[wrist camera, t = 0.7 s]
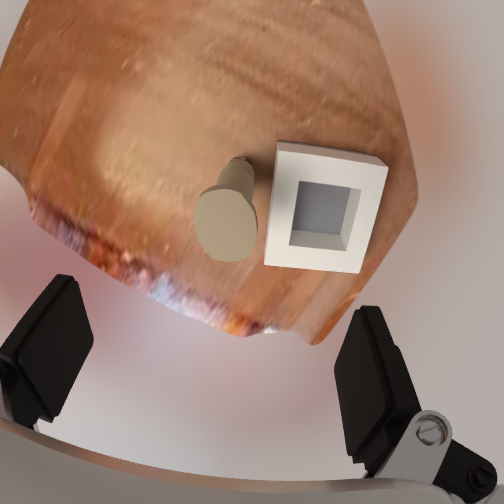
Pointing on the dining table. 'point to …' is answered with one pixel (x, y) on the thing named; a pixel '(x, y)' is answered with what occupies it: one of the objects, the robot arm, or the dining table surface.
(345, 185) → the socket stand
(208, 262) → the dining table surface
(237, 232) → the handle
